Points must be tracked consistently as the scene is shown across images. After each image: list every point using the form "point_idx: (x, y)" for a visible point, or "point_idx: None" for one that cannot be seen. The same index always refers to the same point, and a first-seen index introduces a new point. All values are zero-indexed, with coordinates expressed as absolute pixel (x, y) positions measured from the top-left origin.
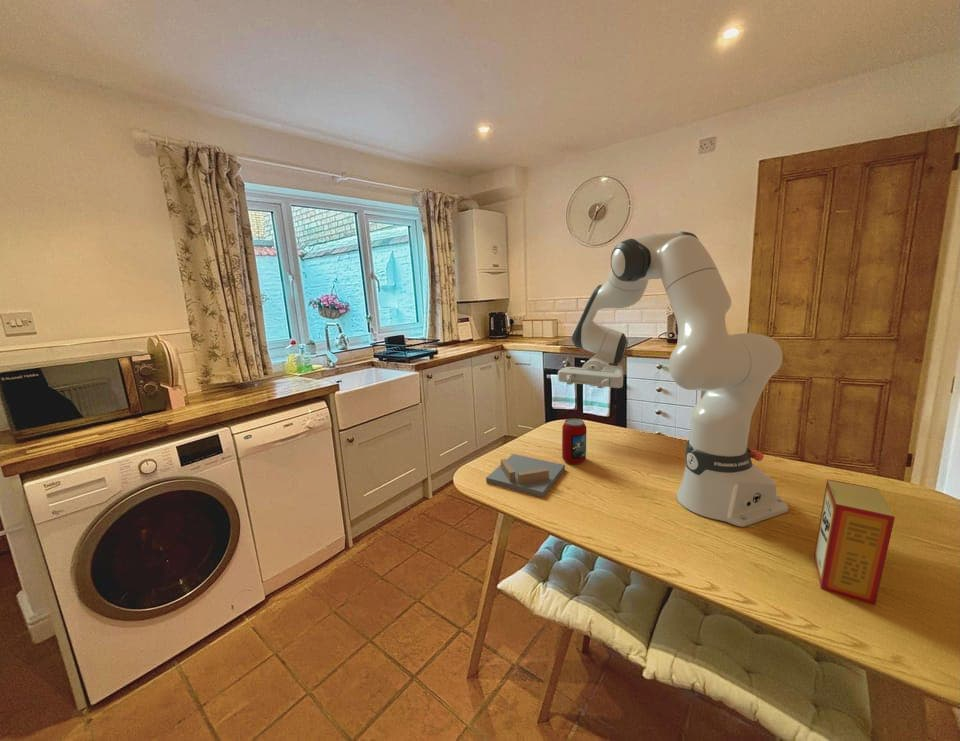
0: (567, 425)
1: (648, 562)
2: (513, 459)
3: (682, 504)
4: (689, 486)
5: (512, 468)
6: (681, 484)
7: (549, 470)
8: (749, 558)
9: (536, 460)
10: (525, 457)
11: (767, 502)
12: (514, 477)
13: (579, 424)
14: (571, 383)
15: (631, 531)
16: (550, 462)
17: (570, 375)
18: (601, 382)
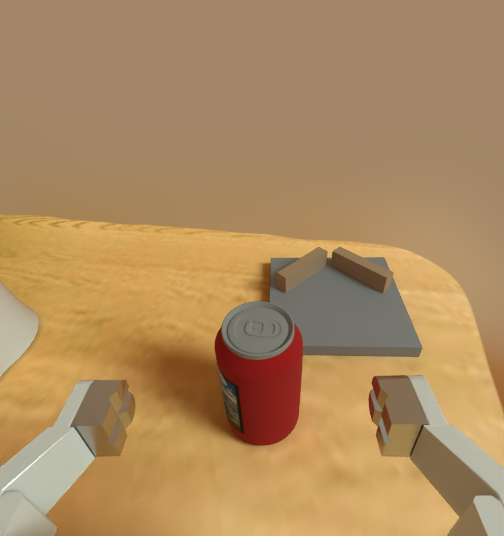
0: (274, 307)
1: (129, 227)
2: (395, 323)
3: (37, 316)
4: (9, 292)
5: (345, 257)
6: (13, 321)
7: (290, 312)
8: (12, 260)
9: (343, 339)
10: (378, 343)
11: None
12: (332, 259)
13: (233, 309)
14: (371, 406)
15: (139, 253)
16: (305, 342)
17: (491, 517)
18: (86, 385)
